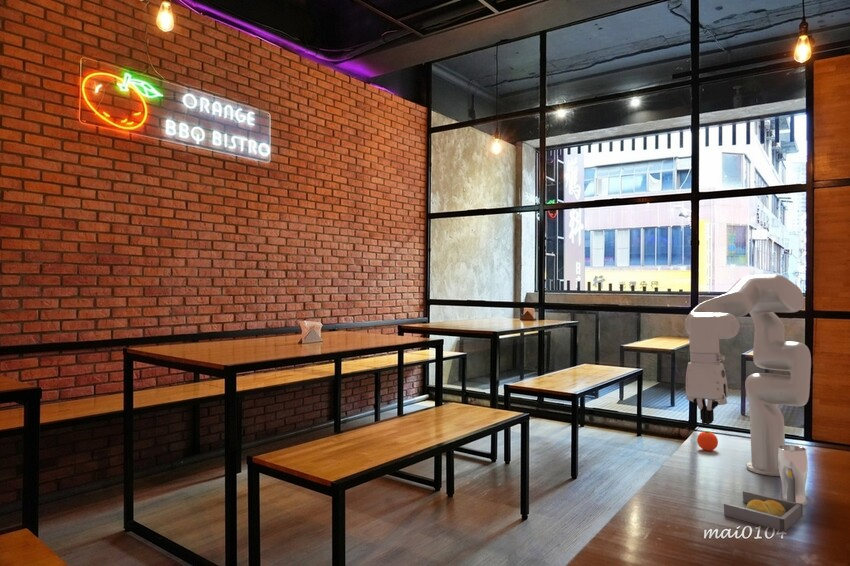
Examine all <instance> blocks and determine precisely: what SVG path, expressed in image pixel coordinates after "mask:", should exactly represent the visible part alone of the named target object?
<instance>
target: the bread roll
mask: <svg viewBox="0 0 850 566" xmlns="http://www.w3.org/2000/svg"><path fill="white" fill-rule="evenodd" d="M745 508H748V509H751V510H755V511H759V512H763V513H767V514H771V515H775V516H779V517H782V516H783V515H784V514H785V513H786V511H785V509H784V507H783V506H782V505H781V504H780V503H778V502H776V501H773V500H767V501H764V502H763V501H761V500H757V499H756V500H751V501H750V502H749V503H746V506H745Z"/></svg>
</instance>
